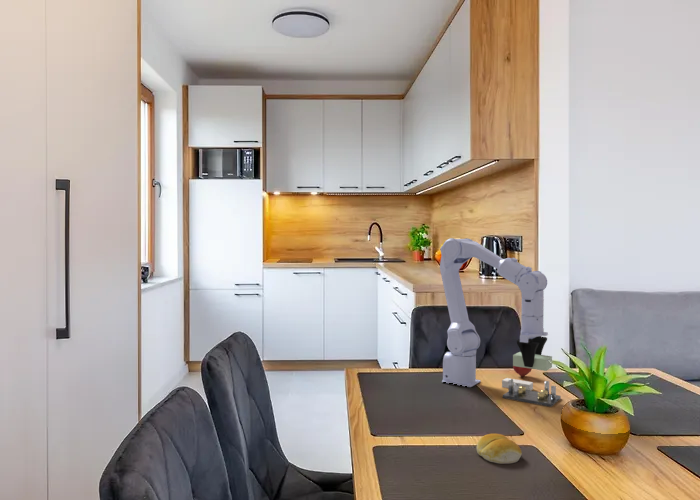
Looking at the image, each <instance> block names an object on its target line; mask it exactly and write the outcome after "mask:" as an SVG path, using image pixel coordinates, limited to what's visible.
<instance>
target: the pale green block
mask: <svg viewBox="0 0 700 500" xmlns="http://www.w3.org/2000/svg"><path fill="white" fill-rule="evenodd" d="M547 360H550V361H552V363H550V362H549V361H547ZM513 366H517V367H524V368H530V369H532V370H538V371H544V372H547V371H549V370H550V369H551V368H553V356H552V355H545V354H541V355H538V354H535V359H534V364H533V367H525V366H524V362H523V358H522V354H521V351H519V352H516V353H514V354H512V367H513Z"/></svg>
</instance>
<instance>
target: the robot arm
mask: <svg viewBox="0 0 700 500" xmlns="http://www.w3.org/2000/svg"><path fill="white" fill-rule="evenodd" d="M440 254H441V258H440V262H439V271H440V276H441V281H442V286H443V291H444V296H445V300H446V304H447V309H448V314H449V319H450V325H449V327H448V329H447V331H446V333H447V340H446V346H447V348H448V350H449V351H446V352H445V353H444V355H443V357H442V358H443V359H442V380H441V383H443V382H446V383H445V384H449V383H453V384H452V385H454V384H457V385H456V386H460V385H462V386H461V387H465V386H467V388H472V387H474V386H475V385H477V384H479V383H481V382H482V381H481V379H476V378H477V377H476V376H477V374H476V373H477V371H476V370H477V367H476V366H477V363H476V362H477V349H479V347H480V345H481V337H480V335H479V334H478V332H477V330H476V327H475V325H474V324H473V323H472V321H470V319H469V315H468V309H467V305H466V300H465V295H464V291H463V286H462V281H461V278H460V277H461V276H460V269H461V268H462V266H463V264H465V263H466V262H467V261H469V260H470V259H472V258H475V259H477V260H480V261H481V262H483V263H485V264H487V265H488V266H491V267H493V268H494V269H496V270H497V273H498V276H501V277H502V278H503V279H506V281H509V282H511V283H512V284H514V285H516V286H517V287H518V289H519V290H520V293H521V318H520V319H521V320H520V321H521V323H520V324H521V325H520V328H521V329H520V334H519V339H516V345H517V347H518V349H519V352H521V354H522V358H523V362H524V366H525V367H533V364H534V359H535V354H538V355H543V354H542V352H543V349H544V347H545V344H546V342H547V341H548V337H546V336H548V335H549V334H548V332H545V331H544V330H545V328H544V309H545V308H544V307H545V306H544V300H545V299H544V294H545V293H544V292H545V289H546V288H547V285H548V279H547V277H546V275H545V274H544V273H543V272H542V271H540V270H534V271H532V270H533V268H532V267H531V266H525V265H524V264H521V263H520V262H518V259H517V258H516V257H507V258H502V257H501V256H499V255H498V254H496V253H495V252H493V251H491V250H490V249H488V248H486V247H485V246H484V245H482V244H480V243H479V242H477V241H476V240H475V241H474V240H473V239H471V238H468V237H467V238H453V237H450V238H448V239H446V240H445V241H444V243H443V244H442V246H441V247H440Z"/></svg>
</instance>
